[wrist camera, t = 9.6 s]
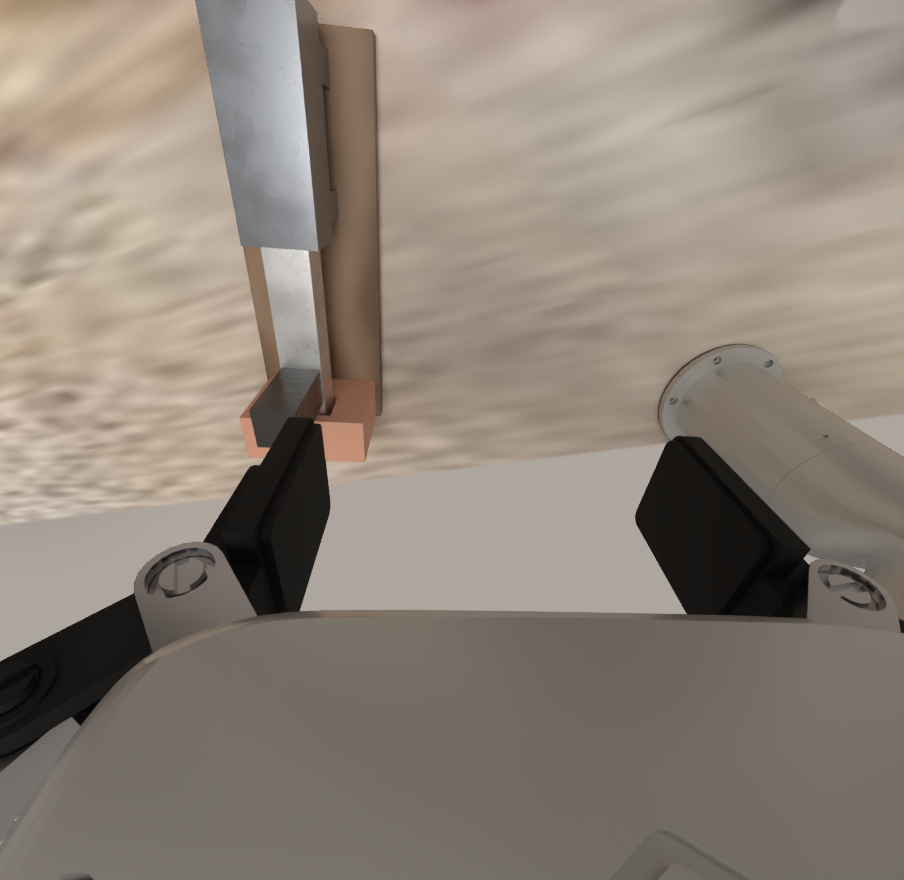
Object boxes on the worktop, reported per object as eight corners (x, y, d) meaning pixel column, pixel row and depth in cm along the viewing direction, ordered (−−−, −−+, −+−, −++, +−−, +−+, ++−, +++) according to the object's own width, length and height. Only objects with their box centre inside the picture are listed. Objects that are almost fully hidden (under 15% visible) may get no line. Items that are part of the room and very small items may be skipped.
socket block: (374, 381, 41) (363, 423, 34) (375, 415, 43) (364, 461, 37) (272, 375, 40) (239, 417, 34) (278, 411, 43) (249, 457, 36)
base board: (375, 36, 28) (372, 29, 27) (382, 409, 45) (380, 416, 43) (209, 16, 28) (199, 9, 26) (278, 403, 44) (273, 410, 43)
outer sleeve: (326, 24, 27) (292, -19, 21) (340, 235, 34) (318, 251, 27) (247, 15, 26) (189, -32, 20) (277, 230, 33) (241, 245, 27)
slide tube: (314, 190, 29) (265, 199, 21) (335, 420, 39) (308, 489, 31) (267, 186, 29) (198, 194, 20) (301, 418, 39) (265, 487, 31)
